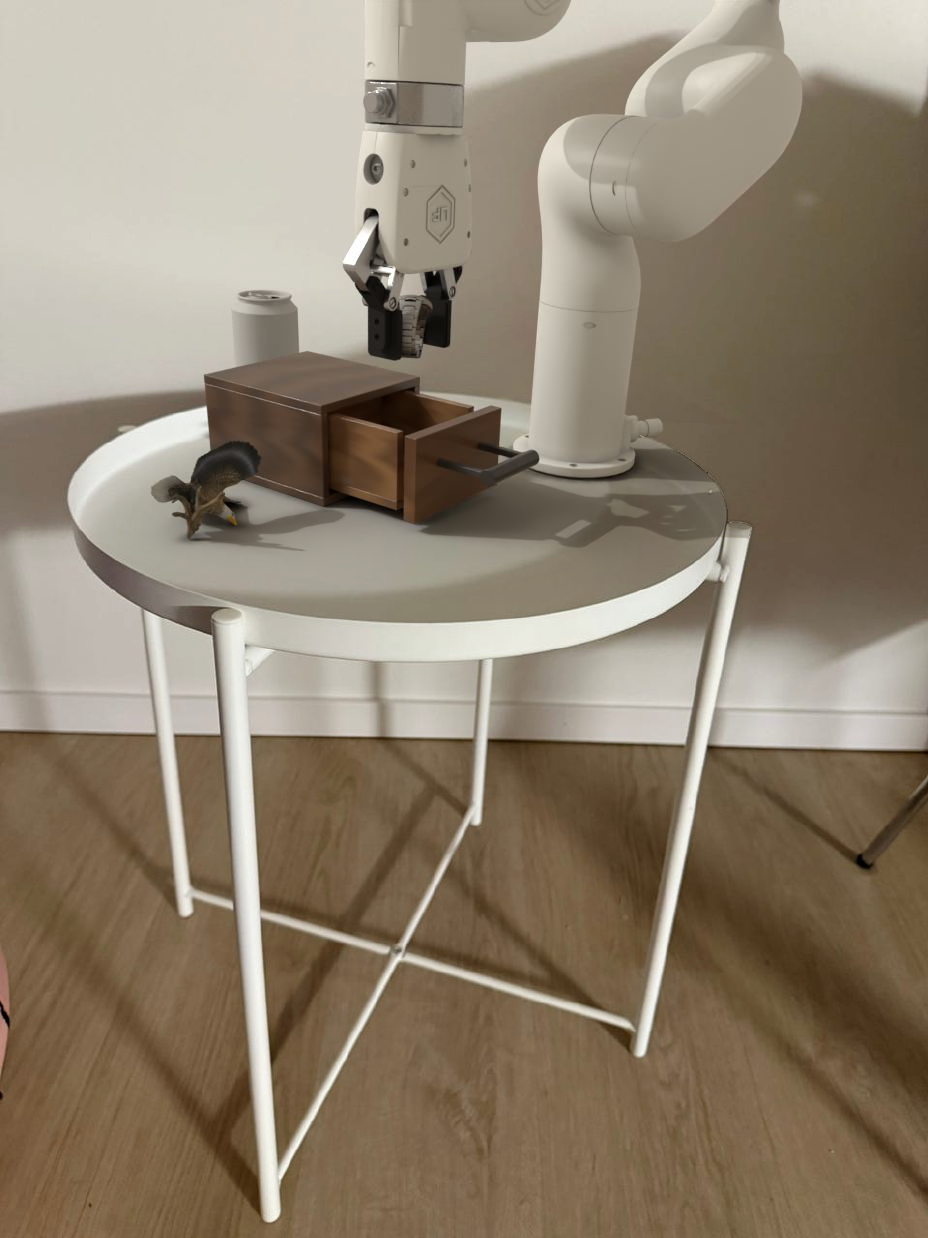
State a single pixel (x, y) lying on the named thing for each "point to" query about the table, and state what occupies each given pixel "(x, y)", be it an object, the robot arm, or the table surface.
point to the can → (264, 326)
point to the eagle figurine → (209, 483)
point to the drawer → (418, 452)
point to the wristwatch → (413, 323)
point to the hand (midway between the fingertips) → (410, 348)
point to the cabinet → (293, 414)
